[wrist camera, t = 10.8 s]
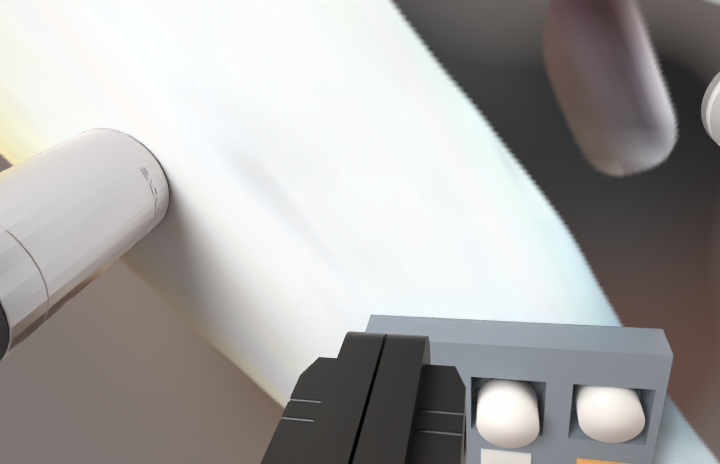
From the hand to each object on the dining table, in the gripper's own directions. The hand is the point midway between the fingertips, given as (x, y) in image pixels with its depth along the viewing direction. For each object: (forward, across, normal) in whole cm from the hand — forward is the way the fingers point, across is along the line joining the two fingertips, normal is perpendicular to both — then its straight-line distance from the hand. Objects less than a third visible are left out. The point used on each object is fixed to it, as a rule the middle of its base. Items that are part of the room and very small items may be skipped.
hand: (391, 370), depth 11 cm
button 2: (+29, -11, +26) cm, 40 cm away
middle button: (+27, -3, +26) cm, 38 cm away
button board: (+29, -3, +28) cm, 40 cm away
